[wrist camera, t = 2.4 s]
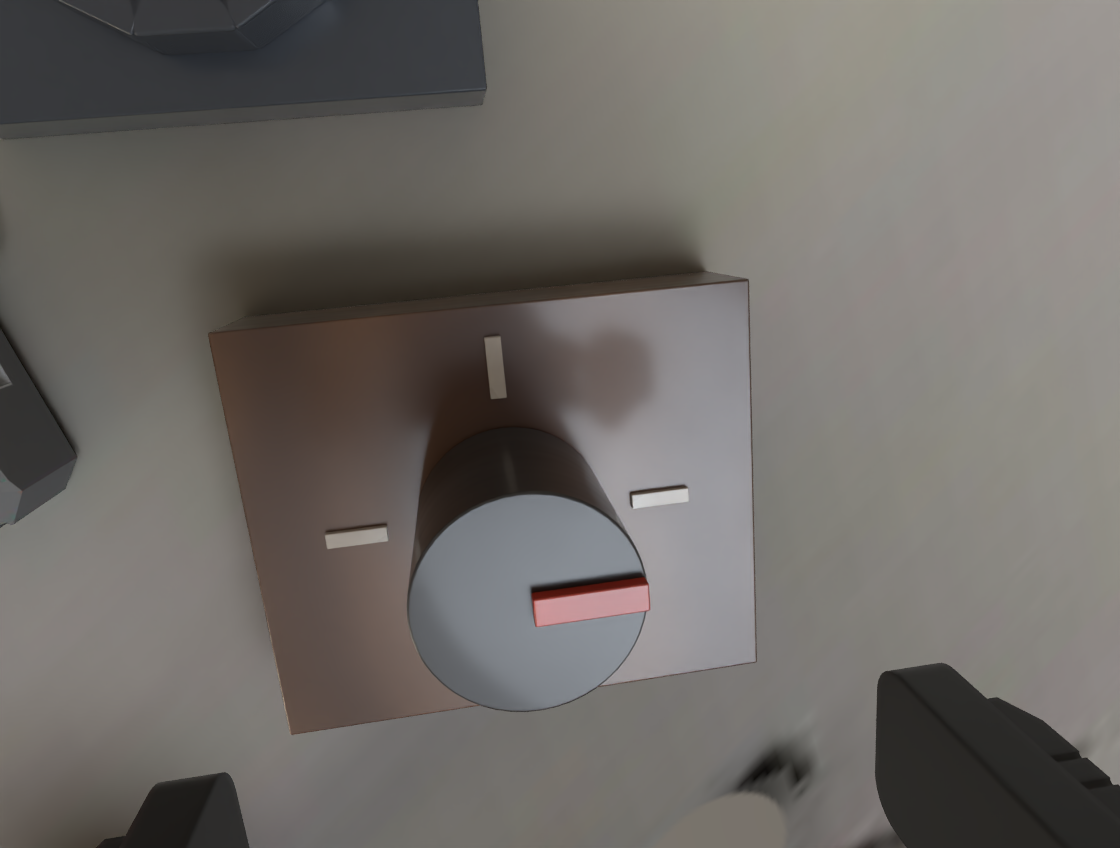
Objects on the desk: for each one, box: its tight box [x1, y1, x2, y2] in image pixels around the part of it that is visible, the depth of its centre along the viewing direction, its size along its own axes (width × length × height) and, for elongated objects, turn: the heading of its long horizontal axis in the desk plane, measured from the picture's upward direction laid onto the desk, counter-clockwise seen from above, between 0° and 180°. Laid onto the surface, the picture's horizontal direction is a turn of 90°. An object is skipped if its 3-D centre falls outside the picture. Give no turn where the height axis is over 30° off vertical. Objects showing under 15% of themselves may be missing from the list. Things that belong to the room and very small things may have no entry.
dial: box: [407, 427, 650, 712], centre depth 16 cm, size 4×4×5 cm
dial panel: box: [208, 271, 757, 735], centre depth 20 cm, size 12×10×3 cm
